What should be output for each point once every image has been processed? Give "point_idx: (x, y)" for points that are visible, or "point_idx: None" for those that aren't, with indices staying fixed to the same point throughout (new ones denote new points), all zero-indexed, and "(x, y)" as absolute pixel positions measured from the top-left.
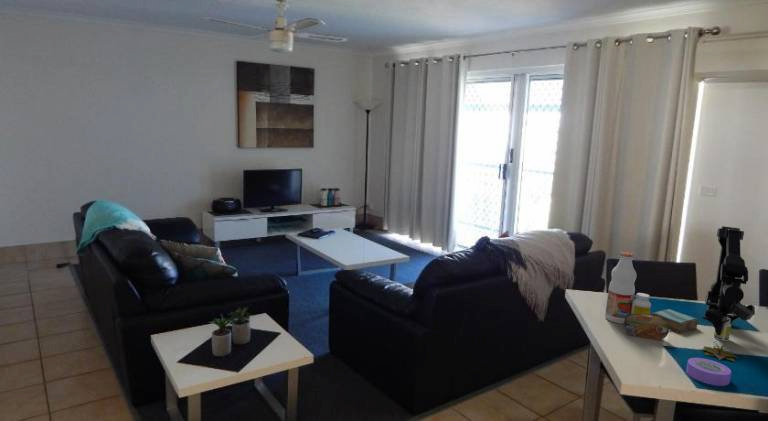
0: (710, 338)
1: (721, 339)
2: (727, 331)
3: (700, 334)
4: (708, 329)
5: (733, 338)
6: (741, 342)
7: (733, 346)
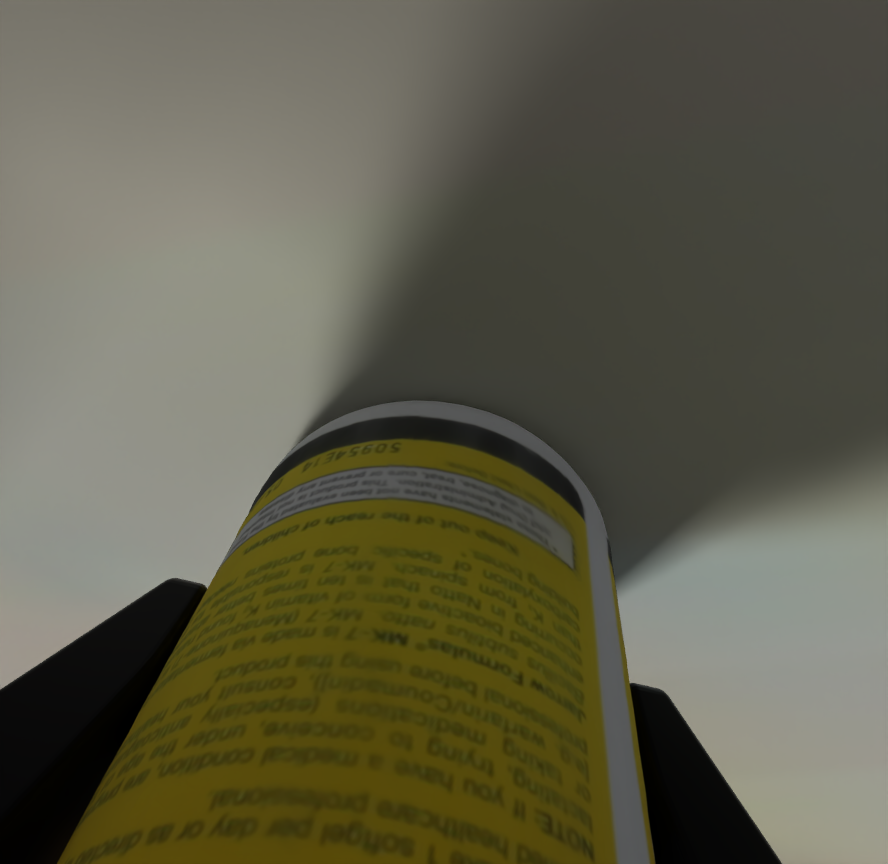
0: None
1: (609, 544)
2: (558, 696)
3: None
4: None
5: (42, 328)
6: (139, 58)
7: (861, 169)
